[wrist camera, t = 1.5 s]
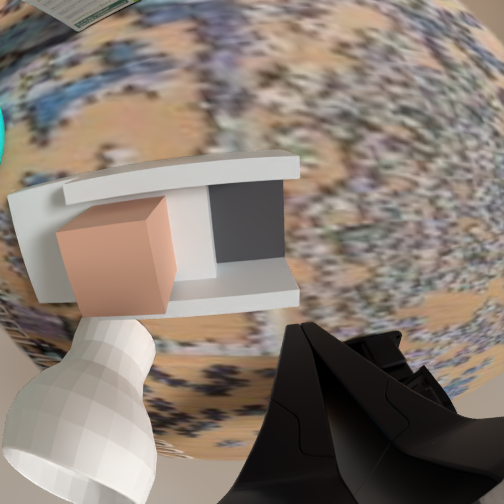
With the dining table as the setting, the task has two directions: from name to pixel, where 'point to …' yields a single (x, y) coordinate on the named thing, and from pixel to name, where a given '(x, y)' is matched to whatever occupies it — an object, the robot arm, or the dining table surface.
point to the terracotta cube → (120, 258)
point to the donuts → (1, 135)
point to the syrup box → (79, 10)
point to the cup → (88, 418)
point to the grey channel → (178, 228)
